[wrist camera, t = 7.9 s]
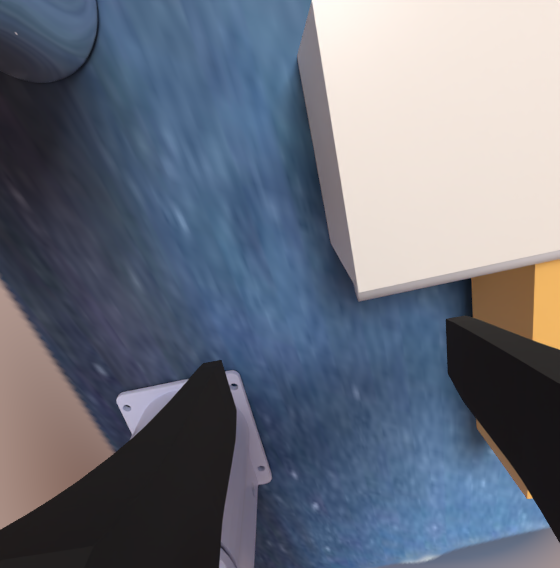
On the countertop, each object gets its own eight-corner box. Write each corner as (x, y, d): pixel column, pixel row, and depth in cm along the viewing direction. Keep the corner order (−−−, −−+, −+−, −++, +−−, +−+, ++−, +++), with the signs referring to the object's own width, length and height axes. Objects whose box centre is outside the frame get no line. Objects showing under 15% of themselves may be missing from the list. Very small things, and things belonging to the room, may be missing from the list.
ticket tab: (507, 422, 23) (566, 492, 18) (476, 427, 23) (527, 498, 19) (509, 208, 18) (590, 230, 13) (469, 217, 18) (536, 242, 14)
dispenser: (634, 185, 19) (824, 208, 12) (332, 252, 20) (360, 306, 13) (663, -39, 15) (948, -172, 9) (296, 56, 16) (311, 0, 10)
